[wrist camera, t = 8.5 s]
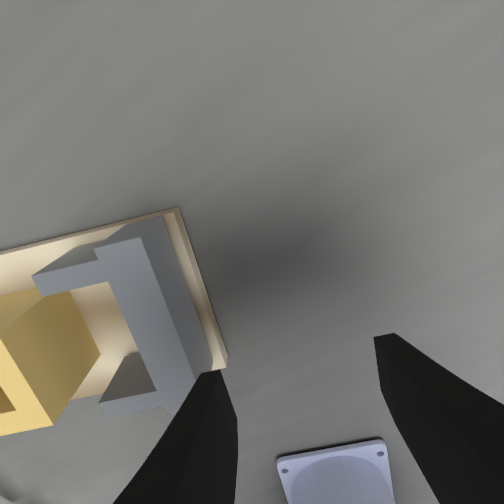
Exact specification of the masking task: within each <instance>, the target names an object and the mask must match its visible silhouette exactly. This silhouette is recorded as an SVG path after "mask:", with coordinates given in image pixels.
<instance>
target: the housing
mask: <svg viewBox="0 0 504 504" xmlns="http://www.w3.org/2000/svg"><path fill="white" fill-rule="evenodd" d="M31 277H32V279H33V281H34V283H35V285H36V287H37V289H38V291H39V292H40V294H41V296H42V297H44V296H48V295H52V294H56V293H61V292H65V291H69V290H73V289H78V288H82V287H86V286H90V285H94V284H99V283H103V282H107V281H108V283H109V285H110V287H111V290H112V292H113V294H114V296H115V298H116V301H117V303H118V305H119V307H120V310H121V312H122V314H123V316H124V319H125V321H126V323H127V325H128V328H129V330H130V332H131V334H132V337H133V339H134V341H135V343H136V346H137V348H138V350H139V352H140V353H138V354H134V355H129V356H125V357H124V358H123V360H122V362H121V364H120V365H119V367H118V369H117V371H116V373H115V374H114V376H113V378H112V380H111V382H110V383H109V385H108V387H107V389H106V391H105V392H104V394H103V396H102V398H101V399H100V401H99V405H100V407H101V409H102V411H103V412H104V414H105V416H106V418H110V417H115V416H120V415H125V414H130V413H135V412H140V411H145V410H150V409H155V408H160V407H164V408H165V411H166V413H167V414H171V413H176V412H178V410H179V409H180V407H181V405H182V404H183V402H184V400H185V399H186V397H187V395H188V393H189V392H190V390H191V388H192V387H193V385H194V383H195V382H196V380H197V378H198V377H199V375H200V374H201V373H203V372H208V371H212V365H213V357H212V355H211V352H210V349H209V346H208V343H207V340H206V338H205V335H204V332H203V329H202V326H201V323H200V321H199V318H198V315H197V312H196V309H195V306H194V304H193V301H192V298H191V295H190V292H189V289H188V287H187V284H186V281H185V278H184V275H183V272H182V270H181V267H180V264H179V261H178V258H177V255H176V253H175V250H174V247H173V244H172V241H171V238H170V236H169V233H168V230H167V227H166V224H165V222H164V219H163V216H159V217H155V218H151V219H147V220H143V221H139V222H135V223H131V224H127V225H124V226H123V227H122V228H120V229H119V230H118V231H116V232H115V233H113V234H112V235H111V236H109V237H108V238H107V239H105V240H103V241H99V242H95V243H91V244H87V245H83V246H79V247H75V248H73V249H71V250H70V251H68V252H67V253H65V254H64V255H62V256H61V257H59V258H58V259H56V260H55V261H53V262H51V263H50V264H48V265H47V266H45V267H44V268H42V269H41V270H39V271H38V272H36V273H35V274H33V275H32V276H31Z"/></svg>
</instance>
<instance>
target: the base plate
mask: <svg viewBox="0 0 504 504" xmlns="http://www.w3.org/2000/svg"><path fill="white" fill-rule="evenodd" d="M159 216H163V219H164V222H165V224H166V227H167V230H168V233H169V236H170V238H171V241H172V244H173V247H174V250H175V253H176V255H177V258H178V261H179V264H180V267H181V270H182V272H183V275H184V278H185V281H186V284H187V287H188V289H189V292H190V295H191V298H192V301H193V304H194V306H195V309H196V312H197V315H198V318H199V321H200V323H201V326H202V329H203V332H204V335H205V338H206V340H207V343H208V346H209V349H210V352H211V355H212V357H213V365H212V371H213V370H218V369H223V368H226V366H227V356H228V355H227V352H226V349H225V346H224V343H223V340H222V337H221V334H220V331H219V328H218V325H217V322H216V319H215V316H214V313H213V310H212V307H211V304H210V301H209V298H208V295H207V292H206V289H205V286H204V283H203V280H202V277H201V274H200V271H199V268H198V265H197V262H196V259H195V256H194V253H193V250H192V247H191V244H190V241H189V238H188V235H187V232H186V229H185V226H184V223H183V220H182V217H181V214H180V211H179V208H178V207H175V208H171V209H167V210H163V211H159V212H155V213H151V214H147V215H144V216H140V217H136V218H132V219H128V220H124V221H120V222H116V223H112V224H108V225H104V226H100V227H96V228H92V229H88V230H84V231H80V232H76V233H72V234H68V235H64V236H60V237H56V238H52V239H48V240H44V241H40V242H36V243H32V244H28V245H24V246H20V247H16V248H12V249H8V250H4V251H0V296H3V295H7V294H11V293H16V292H20V291H24V290H28V289H32V288H36V285H35V283H34V281H33V279H32V277H31V276H32V275H33V274H35V273H36V272H38V271H39V270H41V269H42V268H44V267H45V266H47V265H48V264H50V263H51V262H53V261H55V260H56V259H58V258H59V257H61V256H62V255H64V254H65V253H67V252H68V251H70V250H71V249H73V248H75V247H79V246H83V245H87V244H91V243H95V242H99V241H103V240H105V239H107V238H108V237H109V236H111V235H112V234H113V233H115V232H116V231H118V230H119V229H120V228H122V227H123V226H124V225H127V224H131V223H135V222H139V221H143V220H147V219H151V218H155V217H159ZM69 291H70V293H71V295H72V297H73V299H74V301H75V303H76V305H77V307H78V309H79V311H80V313H81V315H82V317H83V319H84V321H85V323H86V325H87V327H88V329H89V331H90V333H91V335H92V337H93V339H94V341H95V343H96V345H97V347H98V349H99V351H100V353H101V355H100V357H99V358H98V360H97V361H96V362H95V364H94V365H93V367H92V368H91V370H90V371H89V373H88V374H87V376H86V377H85V379H84V380H83V382H82V383H81V385H80V386H79V388H78V389H77V391H76V392H75V394H74V395H73V397H72V398H71V400H74V399H78V398H83V397H88V396H93V395H98V394H102V393H104V392H105V391H106V389H107V387H108V385H109V383H110V382H111V380H112V378H113V376H114V374H115V373H116V371H117V369H118V367H119V365H120V364H121V362H122V360H123V358H124V357H125V356H129V355H134V354H138V353H140V352H139V350H138V348H137V346H136V343H135V341H134V339H133V337H132V334H131V332H130V330H129V328H128V325H127V323H126V321H125V319H124V316H123V314H122V312H121V310H120V307H119V305H118V303H117V301H116V298H115V296H114V294H113V292H112V290H111V287H110V285H109V283H108V281H107V282H103V283H99V284H94V285H90V286H86V287H82V288H78V289H73V290H69Z"/></svg>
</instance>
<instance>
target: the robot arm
mask: <svg viewBox="0 0 504 504" xmlns="http://www.w3.org/2000/svg"><path fill="white" fill-rule="evenodd" d="M374 344H375V351H376V358H377V365H378V372H379V380H380V387H381V391H382V394H383V396H384V399H385V401H386V403H387V406H388V408H389V410H390V413H391V415H392V417H393V420H394V422H395V424H396V426H397V428H398V430H399V432H400V433H401V435H402V437H403V439H404V441H405V442H406V444H407V446H408V448H409V450H410V451H411V453H412V455H413V457H414V459H415V460H416V462H417V464H418V466H419V467H420V469H421V471H422V473H423V475H424V476H425V478H426V480H427V482H428V484H429V485H430V487H431V489H432V491H433V493H434V494H435V496H436V498H437V500H438V501H439V503H440V504H504V405H503V404H501V403H500V402H498V401H496V400H495V399H493V398H491V397H489V396H488V395H486V394H484V393H483V392H481V391H479V390H478V389H476V388H475V387H473V386H471V385H470V384H468V383H467V382H465V381H463V380H462V379H460V378H459V377H457V376H456V375H454V374H453V373H451V372H450V371H448V370H447V369H445V368H444V367H442V366H441V365H439V364H438V363H436V362H435V361H433V360H432V359H430V358H429V357H428V356H426V355H425V354H423V353H422V352H421V351H419V350H418V349H416V348H415V347H414V346H412V345H411V344H409V343H408V342H407V341H405V340H404V339H403V338H401V337H400V336H398V335H397V334H395V333H391V334H386V335H382V336H377V337H374ZM237 461H238V432H237V417H236V414H235V411H234V408H233V405H232V403H231V400H230V397H229V394H228V391H227V388H226V385H225V383H224V380H223V377H222V374H221V371H220V369H218V370H213V371H208V372H203V373H201V374H200V375H199V377H198V378H197V380H196V382H195V383H194V385H193V387H192V388H191V390H190V392H189V393H188V395H187V397H186V399H185V400H184V402H183V404H182V405H181V407H180V409H179V410H178V412H177V413H176V415H175V417H174V418H173V420H172V421H171V423H170V425H169V426H168V428H167V429H166V431H165V432H164V434H163V436H162V437H161V439H160V440H159V442H158V443H157V445H156V446H155V447H154V449H153V450H152V452H151V453H150V455H149V456H148V458H147V459H146V460H145V462H144V463H143V465H142V466H141V468H140V469H139V470H138V472H137V473H136V474H135V476H134V477H133V478H132V480H131V481H130V482H129V484H128V485H127V486H126V488H125V489H124V490H123V491H122V493H121V494H120V495H119V496H118V498H117V499H116V500H115V501H114V503H113V504H234V500H235V488H236V475H237ZM276 463H277V469H278V472H279V476H280V479H281V482H282V485H283V488H284V491H285V495H286V498H287V501H288V504H395V502H394V495H393V488H392V481H391V474H390V467H389V460H388V453H387V447H386V445H385V442H384V441H383V440H380V439H378V440H372V441H366V442H361V443H355V444H350V445H344V446H339V447H333V448H328V449H323V450H317V451H312V452H306V453H301V454H295V455H290V456H284V457H280V458H278V459H277V461H276Z"/></svg>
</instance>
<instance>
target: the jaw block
mask: <svg viewBox="0 0 504 504" xmlns="http://www.w3.org/2000/svg"><path fill="white" fill-rule="evenodd" d="M100 355H101V353H100V351H99V349H98V347H97V345H96V343H95V341H94V339H93V337H92V335H91V333H90V331H89V329H88V327H87V325H86V323H85V321H84V319H83V317H82V315H81V313H80V311H79V309H78V307H77V305H76V303H75V301H74V299H73V297H72V295H71V293H70V291H65V292H61V293H56V294H52V295H48V296H44V297H42V296H41V294H40V292H39V291H38V289H37V287H36V288H32V289H28V290H24V291H20V292H16V293H11V294H7V295H3V296H0V436H2V435H7V434H12V433H17V432H22V431H27V430H32V429H37V428H42V427H47V426H52V425H54V424H55V422H56V421H57V419H58V418H59V416H60V415H61V413H62V412H63V410H64V409H65V407H66V406H67V404H68V403H69V401H70V400H71V398H72V397H73V395H74V394H75V392H76V391H77V389H78V388H79V386H80V385H81V383H82V382H83V380H84V379H85V377H86V376H87V374H88V373H89V371H90V370H91V368H92V367H93V365H94V364H95V362H96V361H97V360H98V358H99V357H100Z"/></svg>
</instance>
